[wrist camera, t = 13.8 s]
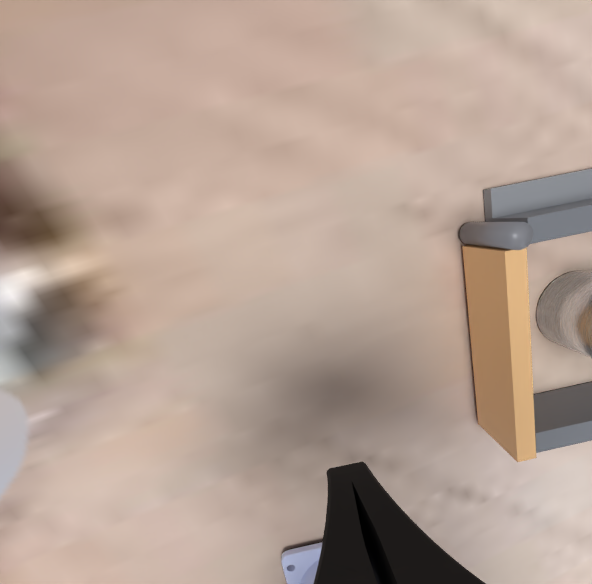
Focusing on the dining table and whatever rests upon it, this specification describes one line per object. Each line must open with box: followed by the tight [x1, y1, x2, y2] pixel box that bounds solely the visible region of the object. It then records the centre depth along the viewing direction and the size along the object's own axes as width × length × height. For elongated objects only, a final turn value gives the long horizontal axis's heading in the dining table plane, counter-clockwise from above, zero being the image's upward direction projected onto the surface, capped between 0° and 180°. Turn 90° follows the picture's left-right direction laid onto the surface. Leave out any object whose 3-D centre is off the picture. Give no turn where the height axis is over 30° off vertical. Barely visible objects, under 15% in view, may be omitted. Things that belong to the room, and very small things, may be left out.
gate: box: [460, 222, 536, 462], centre depth 17 cm, size 12×1×4 cm, turn 11°
